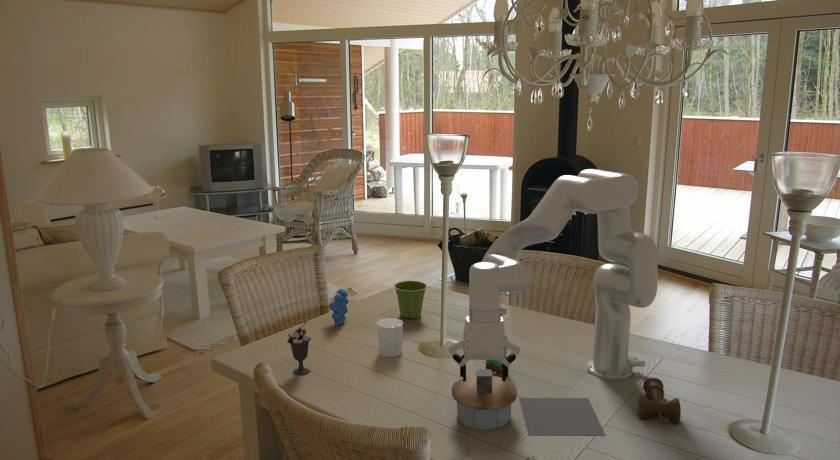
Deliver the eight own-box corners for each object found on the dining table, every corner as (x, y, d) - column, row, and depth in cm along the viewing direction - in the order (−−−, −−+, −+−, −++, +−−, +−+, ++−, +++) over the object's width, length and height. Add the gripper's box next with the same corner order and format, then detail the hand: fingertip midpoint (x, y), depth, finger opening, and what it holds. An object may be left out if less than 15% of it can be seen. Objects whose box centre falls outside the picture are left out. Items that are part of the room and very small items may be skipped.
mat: (587, 399, 167) (588, 397, 167) (605, 437, 150) (605, 435, 150) (519, 399, 168) (519, 397, 168) (528, 437, 150) (528, 435, 150)
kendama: (671, 397, 169) (683, 435, 150) (633, 394, 172) (640, 431, 153) (672, 376, 168) (684, 412, 149) (634, 373, 170) (641, 408, 151)
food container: (507, 381, 178) (507, 347, 176) (485, 379, 179) (485, 346, 177) (510, 362, 190) (510, 330, 187) (489, 360, 191) (489, 329, 188)
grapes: (335, 315, 228) (333, 283, 226) (353, 317, 227) (351, 285, 224) (323, 327, 217) (321, 294, 215) (342, 329, 216) (340, 295, 213)
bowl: (506, 404, 165) (507, 381, 164) (512, 431, 153) (513, 406, 151) (456, 403, 166) (456, 381, 164) (458, 430, 153) (458, 406, 152)
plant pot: (415, 324, 220) (415, 293, 217) (387, 317, 226) (387, 287, 224) (433, 313, 230) (433, 283, 227) (406, 307, 236) (406, 278, 233)
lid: (512, 378, 165) (513, 358, 164) (520, 409, 150) (521, 388, 148) (450, 378, 166) (450, 358, 164) (452, 409, 150) (452, 388, 149)
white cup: (373, 356, 195) (372, 325, 192) (384, 346, 202) (383, 316, 200) (397, 360, 192) (396, 329, 190) (407, 350, 199) (406, 319, 197)
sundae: (317, 369, 187) (314, 320, 183) (304, 378, 181) (301, 329, 177) (298, 365, 189) (295, 317, 186) (285, 374, 183) (281, 325, 180)
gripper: (518, 308, 156) (517, 372, 160) (448, 308, 157) (448, 372, 161) (522, 319, 149) (521, 386, 153) (448, 319, 149) (448, 386, 153)
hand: (483, 379), depth 157 cm, fingers open, 9 cm apart
